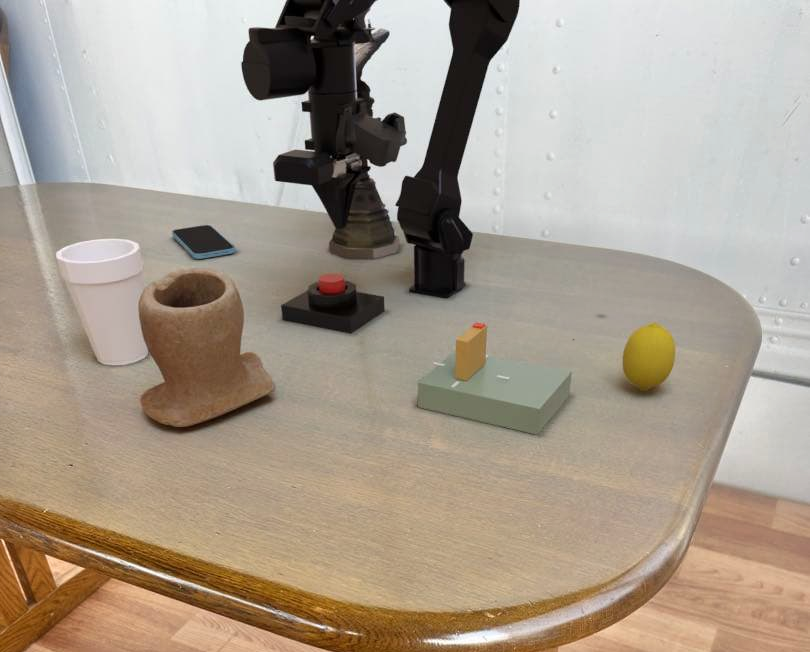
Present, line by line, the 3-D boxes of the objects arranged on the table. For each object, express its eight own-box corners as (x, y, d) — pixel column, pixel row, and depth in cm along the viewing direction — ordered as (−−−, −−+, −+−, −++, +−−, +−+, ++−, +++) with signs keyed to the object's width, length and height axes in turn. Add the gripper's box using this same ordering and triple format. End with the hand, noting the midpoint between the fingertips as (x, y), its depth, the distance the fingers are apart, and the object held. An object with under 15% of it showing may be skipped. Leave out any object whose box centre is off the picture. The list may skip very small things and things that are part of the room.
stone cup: (182, 450, 83) (152, 307, 74) (130, 410, 90) (98, 275, 81) (304, 404, 91) (290, 269, 82) (247, 370, 98) (229, 244, 89)
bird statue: (341, 273, 127) (324, 5, 106) (293, 254, 135) (268, 2, 114) (419, 250, 135) (418, -2, 114) (370, 234, 143) (360, -4, 122)
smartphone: (194, 255, 132) (170, 230, 143) (195, 261, 133) (171, 236, 143) (236, 247, 135) (209, 224, 145) (237, 254, 135) (210, 230, 146)
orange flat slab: (466, 381, 88) (467, 339, 85) (454, 378, 88) (455, 337, 85) (485, 364, 91) (487, 323, 88) (474, 361, 92) (475, 321, 89)
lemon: (611, 381, 94) (621, 314, 89) (658, 379, 94) (670, 312, 90) (626, 403, 90) (637, 333, 85) (675, 400, 90) (689, 331, 85)
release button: (313, 292, 109) (312, 279, 108) (328, 284, 112) (327, 271, 111) (336, 296, 108) (335, 283, 107) (350, 288, 110) (349, 275, 109)
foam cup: (175, 345, 105) (155, 242, 97) (133, 374, 98) (108, 266, 90) (113, 337, 107) (88, 236, 99) (68, 365, 100) (38, 258, 92)
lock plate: (413, 406, 90) (412, 379, 88) (452, 371, 97) (452, 346, 95) (537, 435, 84) (539, 407, 82) (569, 396, 91) (572, 370, 89)
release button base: (282, 320, 111) (279, 291, 108) (318, 299, 117) (316, 272, 115) (351, 334, 107) (349, 304, 104) (384, 311, 113) (383, 283, 111)
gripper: (349, 107, 85) (356, 257, 94) (429, 83, 98) (429, 217, 107) (263, 100, 89) (278, 245, 99) (351, 79, 103) (357, 208, 112)
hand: (340, 228), depth 104 cm, fingers closed
